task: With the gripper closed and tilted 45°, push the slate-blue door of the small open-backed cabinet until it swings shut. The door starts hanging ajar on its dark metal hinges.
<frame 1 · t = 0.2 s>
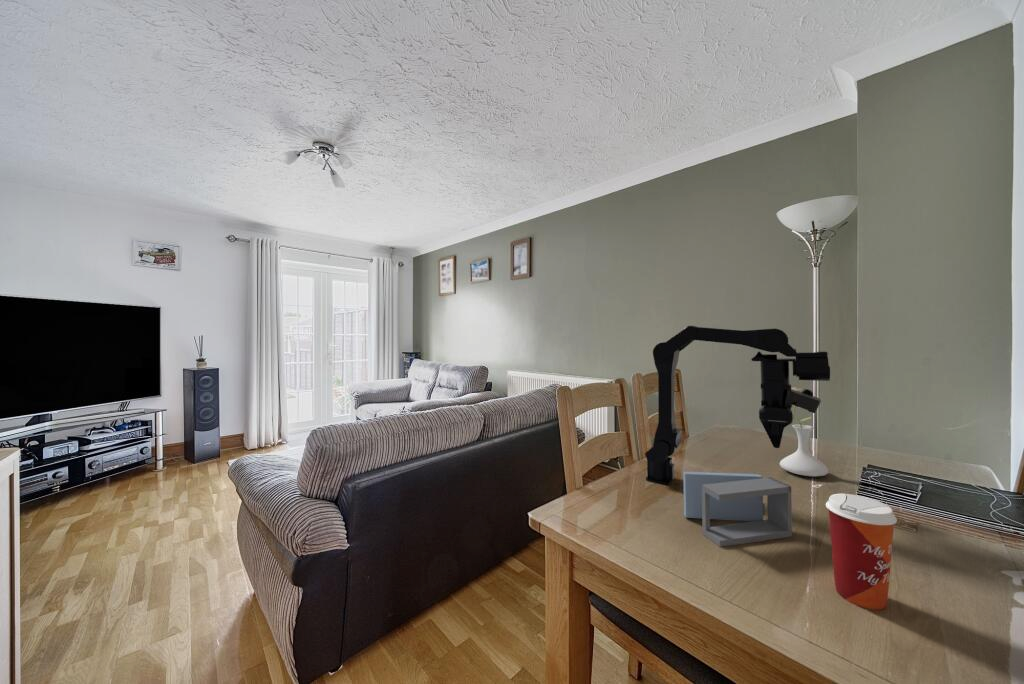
hand: (776, 442, 91), 15 cm above the table, tool pointing down, fingers open, 9 cm apart
cabinet: (744, 535, 77), on the table
coffee cup: (860, 597, 59), on the table
flower in vase: (801, 472, 111), on the table
door: (723, 495, 84), point 5 cm above the table, hinge at 20.0°
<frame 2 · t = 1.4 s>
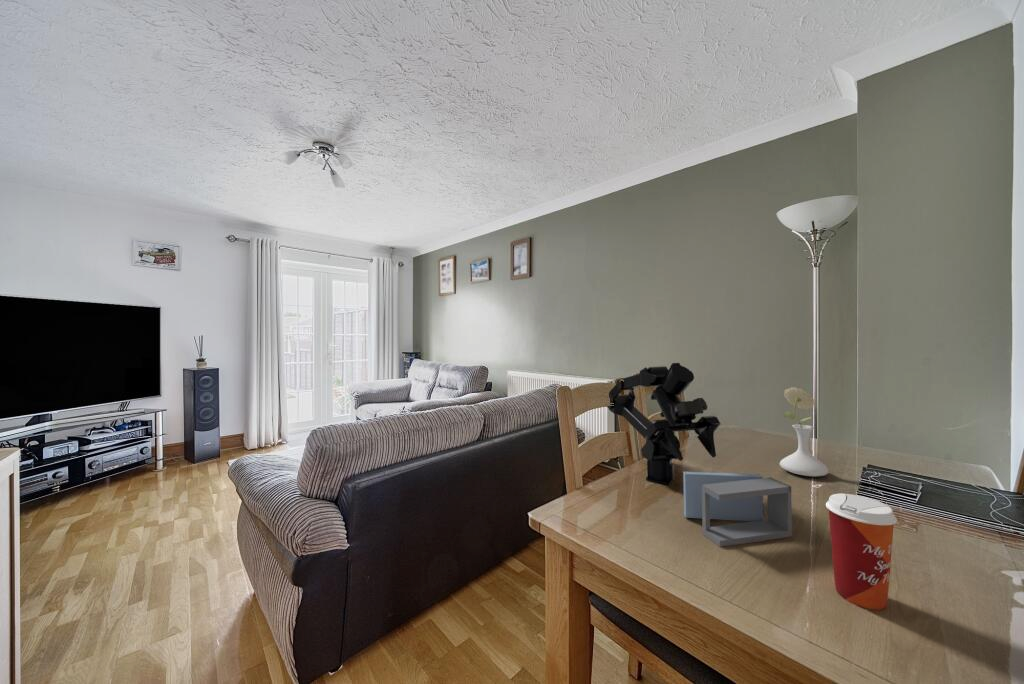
hand: (698, 458, 92), 11 cm above the table, tool tilted 45°, fingers open, 9 cm apart
nothing on the table moved.
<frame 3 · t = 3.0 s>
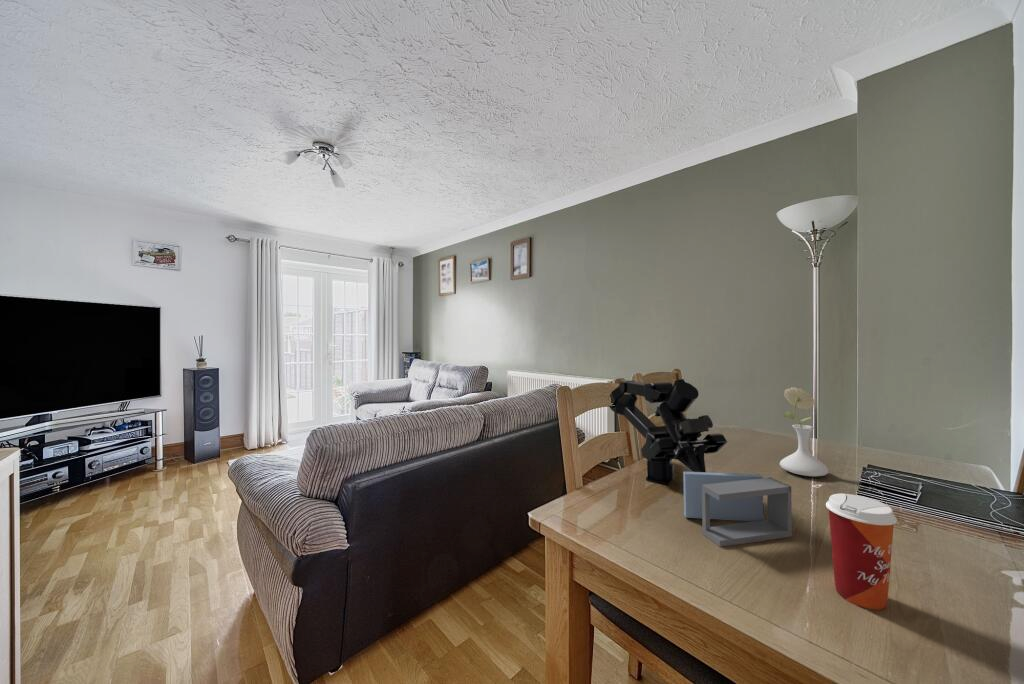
hand: (704, 477, 89), 7 cm above the table, tool tilted 45°, fingers closed
nothing on the table moved.
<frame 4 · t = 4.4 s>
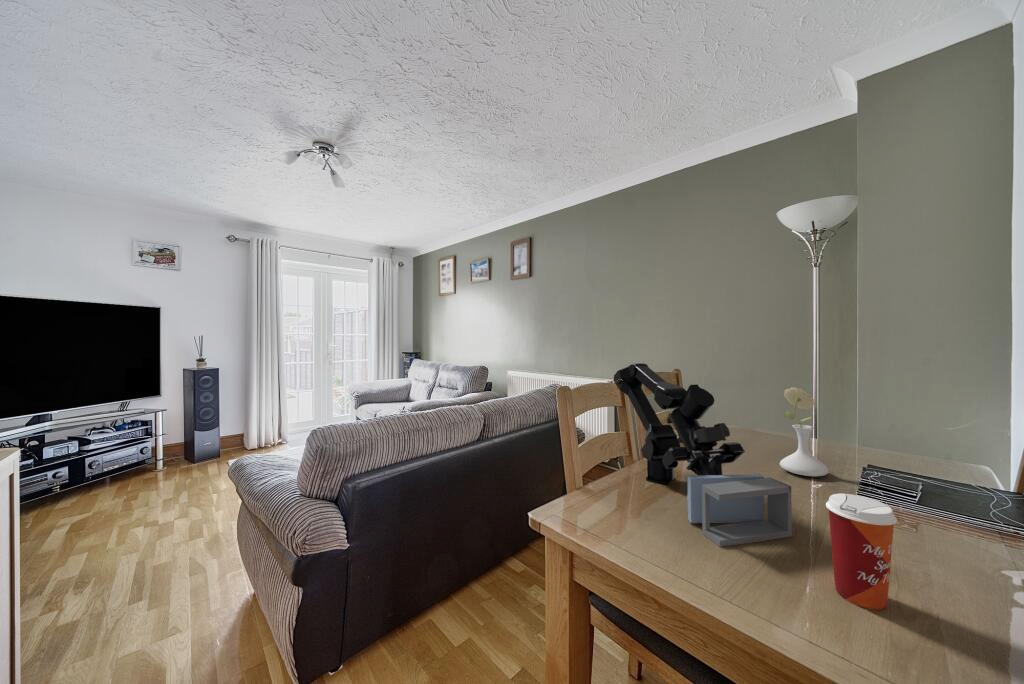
hand: (721, 490, 84), 7 cm above the table, tool tilted 45°, fingers closed
door: (726, 497, 83), point 5 cm above the table, hinge at 11.3°, touching gripper
everything else where it was.
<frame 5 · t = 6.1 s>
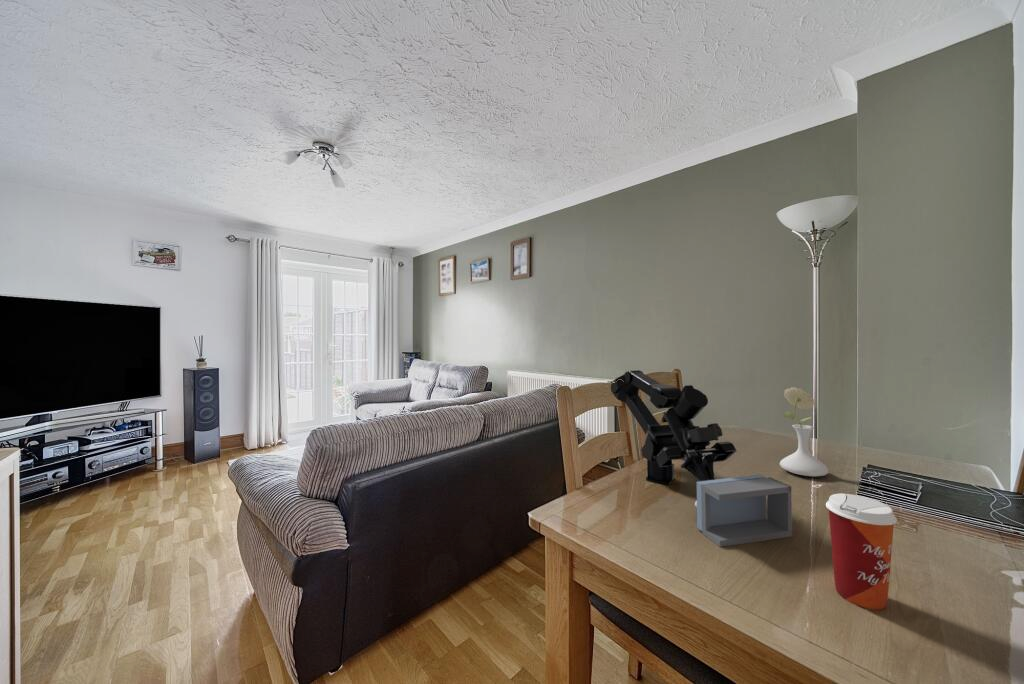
hand: (712, 488, 86), 6 cm above the table, tool tilted 45°, fingers closed
door: (731, 500, 81), point 5 cm above the table, hinge at -0.9°
everything else where it was.
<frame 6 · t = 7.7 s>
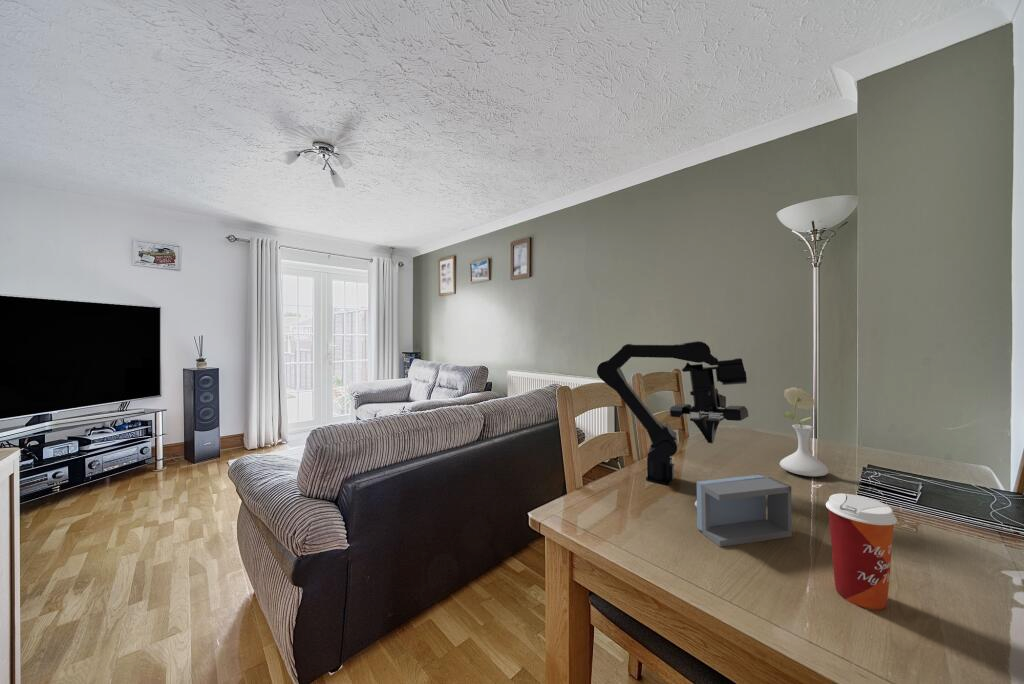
hand: (710, 442, 102), 12 cm above the table, tool pointing down, fingers closed
nothing on the table moved.
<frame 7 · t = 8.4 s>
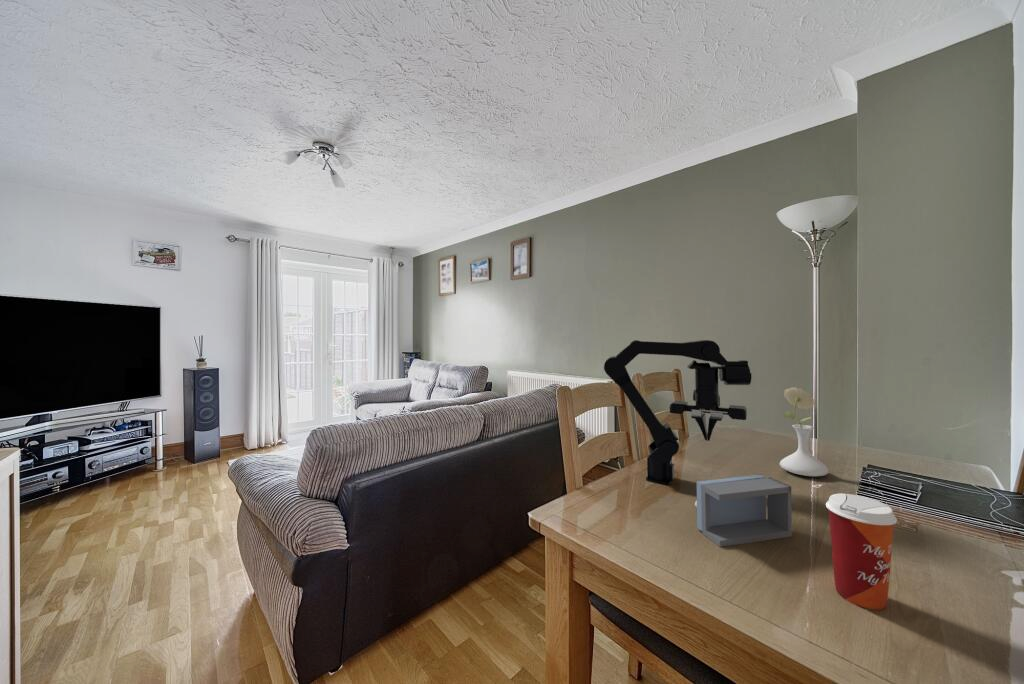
hand: (707, 440, 104), 12 cm above the table, tool pointing down, fingers closed
nothing on the table moved.
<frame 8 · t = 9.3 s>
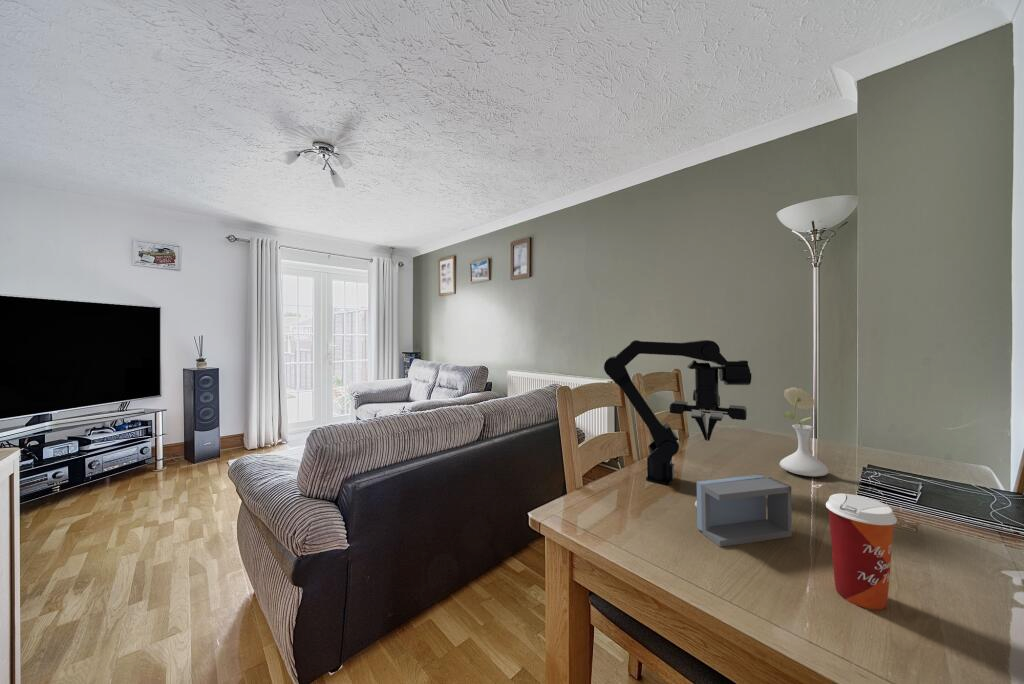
hand: (707, 440, 104), 12 cm above the table, tool pointing down, fingers closed
nothing on the table moved.
at the end: door at -1° (first picture: +20°); coffee cup moved 0.2 cm from its start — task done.
